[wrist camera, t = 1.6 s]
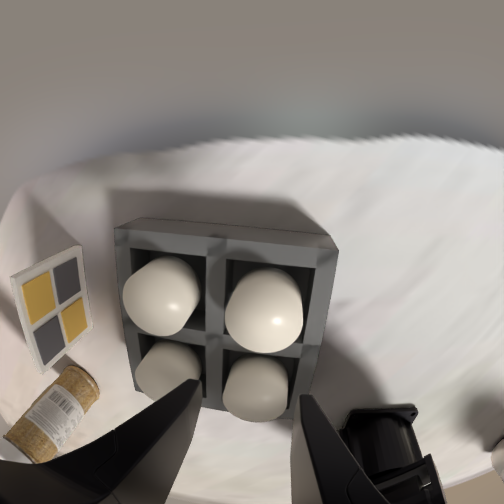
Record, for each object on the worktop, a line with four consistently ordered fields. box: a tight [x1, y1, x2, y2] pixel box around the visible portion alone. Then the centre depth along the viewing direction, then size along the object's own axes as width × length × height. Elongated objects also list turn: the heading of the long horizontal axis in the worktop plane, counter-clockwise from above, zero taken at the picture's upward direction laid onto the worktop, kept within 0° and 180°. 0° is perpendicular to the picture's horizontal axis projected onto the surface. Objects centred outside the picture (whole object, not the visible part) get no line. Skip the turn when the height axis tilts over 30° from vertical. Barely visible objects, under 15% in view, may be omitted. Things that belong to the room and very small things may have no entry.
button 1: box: [222, 353, 288, 422], centre depth 16 cm, size 4×4×2 cm
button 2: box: [225, 267, 303, 353], centre depth 14 cm, size 4×4×2 cm
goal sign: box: [10, 245, 93, 375], centre depth 17 cm, size 1×7×7 cm, turn 177°
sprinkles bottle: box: [0, 366, 100, 464], centre depth 17 cm, size 5×5×14 cm
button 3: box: [135, 339, 202, 401], centre depth 16 cm, size 4×4×2 cm
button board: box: [114, 218, 339, 420], centre depth 18 cm, size 12×12×3 cm
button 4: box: [123, 256, 202, 336], centre depth 15 cm, size 4×4×2 cm
